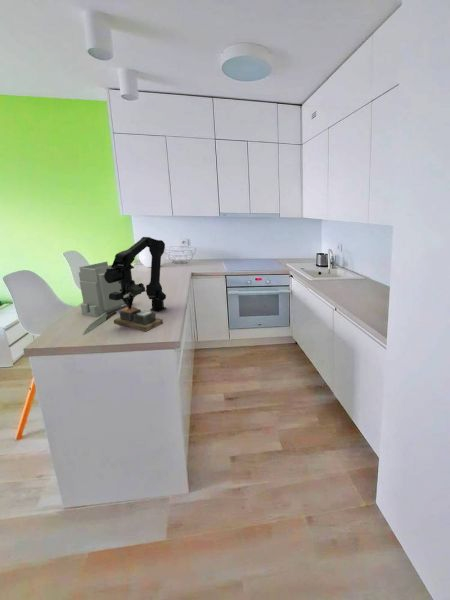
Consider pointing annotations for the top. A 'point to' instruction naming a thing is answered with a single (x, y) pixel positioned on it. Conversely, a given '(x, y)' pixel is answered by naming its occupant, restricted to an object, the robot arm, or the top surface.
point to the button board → (138, 320)
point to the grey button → (144, 313)
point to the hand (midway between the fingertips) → (129, 308)
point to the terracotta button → (130, 310)
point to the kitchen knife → (99, 321)
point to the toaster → (97, 290)
